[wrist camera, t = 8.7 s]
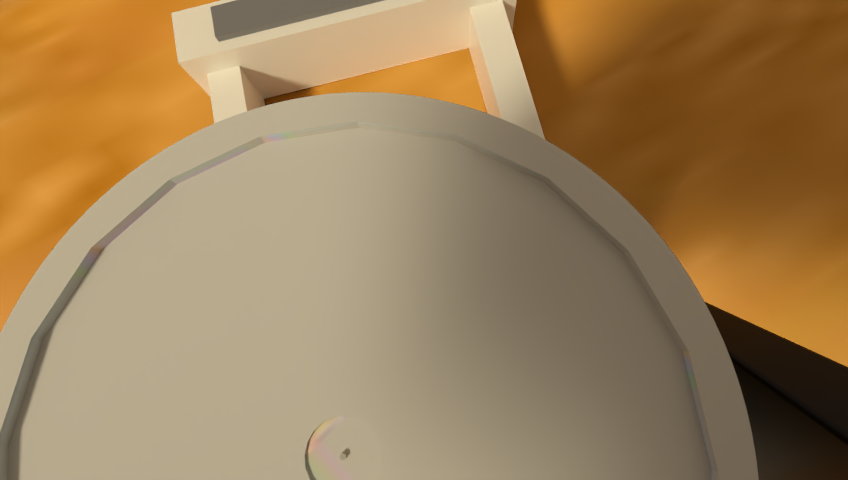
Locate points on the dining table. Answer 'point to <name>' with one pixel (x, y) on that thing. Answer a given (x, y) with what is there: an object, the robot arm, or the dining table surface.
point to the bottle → (366, 315)
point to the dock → (346, 47)
